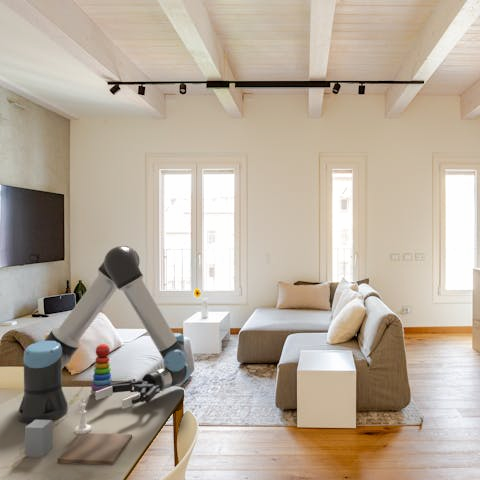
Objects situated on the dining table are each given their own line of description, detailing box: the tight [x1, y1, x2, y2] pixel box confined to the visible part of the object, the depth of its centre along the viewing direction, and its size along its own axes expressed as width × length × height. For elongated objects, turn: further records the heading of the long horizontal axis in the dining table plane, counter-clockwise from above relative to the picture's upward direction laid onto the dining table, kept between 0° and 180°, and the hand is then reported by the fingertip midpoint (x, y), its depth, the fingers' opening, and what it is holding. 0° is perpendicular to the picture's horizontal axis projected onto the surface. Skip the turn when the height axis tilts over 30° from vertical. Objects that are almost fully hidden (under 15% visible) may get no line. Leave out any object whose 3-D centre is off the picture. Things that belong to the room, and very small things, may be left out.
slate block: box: [24, 420, 54, 458], centre depth 117 cm, size 5×5×8 cm
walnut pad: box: [57, 432, 133, 466], centre depth 118 cm, size 15×15×1 cm
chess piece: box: [73, 397, 92, 435], centre depth 130 cm, size 5×5×10 cm
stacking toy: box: [90, 343, 113, 397], centre depth 162 cm, size 8×8×19 cm
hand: (109, 400), depth 138 cm, fingers open, 13 cm apart
